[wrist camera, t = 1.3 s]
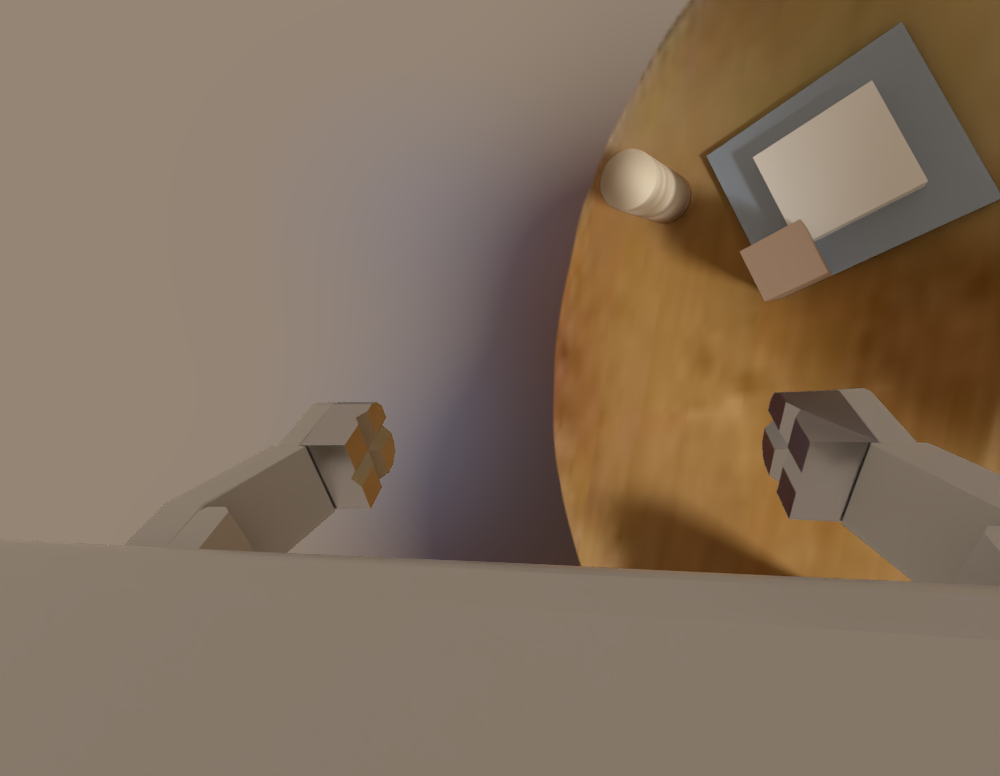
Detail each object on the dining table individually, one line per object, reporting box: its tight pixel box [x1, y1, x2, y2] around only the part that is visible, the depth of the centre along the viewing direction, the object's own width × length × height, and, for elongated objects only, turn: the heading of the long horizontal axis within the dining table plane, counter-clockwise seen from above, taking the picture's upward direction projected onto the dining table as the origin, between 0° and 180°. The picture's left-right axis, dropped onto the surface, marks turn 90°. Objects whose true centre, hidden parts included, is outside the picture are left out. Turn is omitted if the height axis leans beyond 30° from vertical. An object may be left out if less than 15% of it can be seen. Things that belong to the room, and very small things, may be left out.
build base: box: [707, 22, 1000, 301], centre depth 33 cm, size 14×14×9 cm
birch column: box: [600, 149, 691, 224], centre depth 41 cm, size 4×4×10 cm
